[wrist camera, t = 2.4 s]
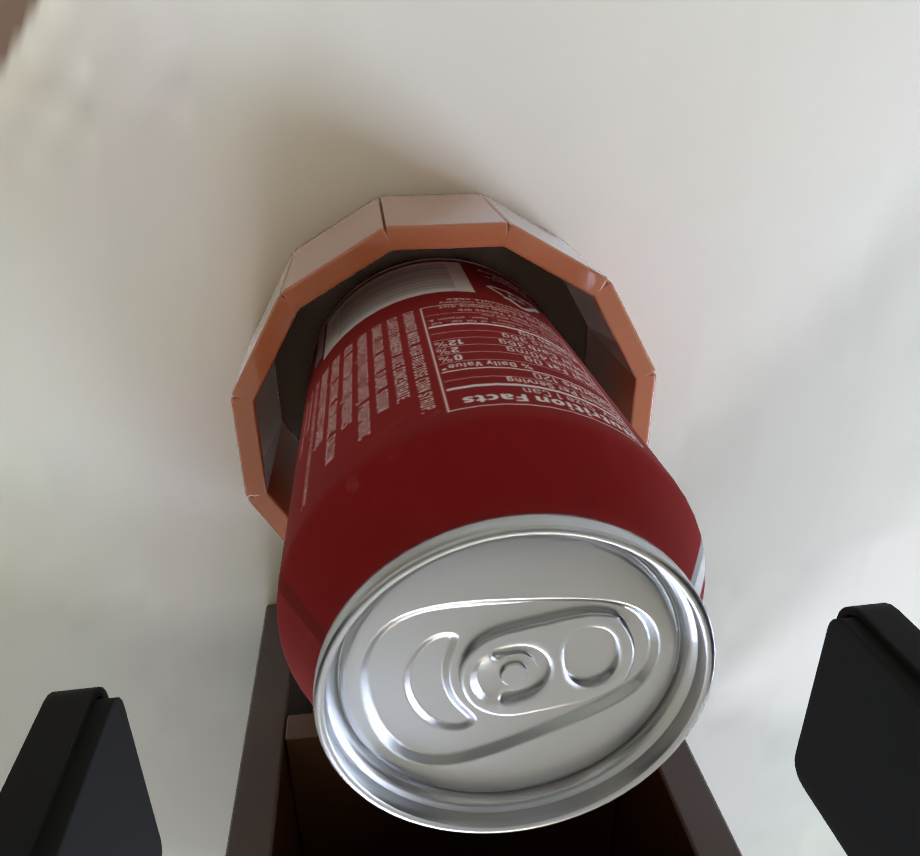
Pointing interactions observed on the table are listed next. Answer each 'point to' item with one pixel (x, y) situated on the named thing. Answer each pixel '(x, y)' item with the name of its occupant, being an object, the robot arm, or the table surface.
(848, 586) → the table surface
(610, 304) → the can holder
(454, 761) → the soda can
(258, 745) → the desk shelf
